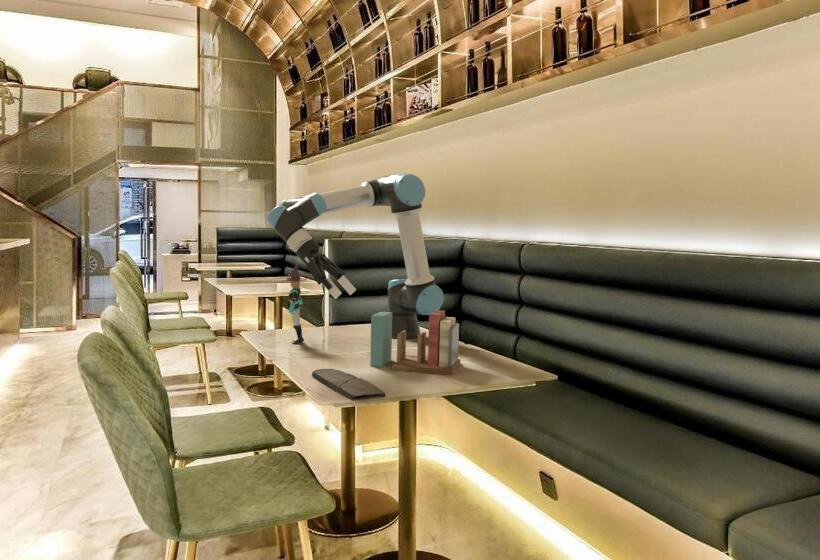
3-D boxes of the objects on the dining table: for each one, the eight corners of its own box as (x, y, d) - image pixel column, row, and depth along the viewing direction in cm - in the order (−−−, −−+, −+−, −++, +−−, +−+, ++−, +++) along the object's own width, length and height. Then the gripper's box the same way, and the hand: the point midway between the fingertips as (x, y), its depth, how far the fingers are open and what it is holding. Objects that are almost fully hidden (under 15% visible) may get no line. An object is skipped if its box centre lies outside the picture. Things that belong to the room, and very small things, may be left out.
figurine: (286, 338, 238) (286, 260, 235) (309, 338, 238) (310, 261, 235) (276, 348, 218) (277, 263, 215) (302, 348, 218) (303, 264, 215)
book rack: (405, 359, 204) (406, 307, 202) (460, 363, 199) (462, 310, 198) (392, 370, 188) (393, 313, 187) (451, 374, 184) (453, 317, 182)
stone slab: (340, 366, 184) (388, 385, 158) (340, 376, 184) (388, 397, 158) (308, 370, 179) (351, 390, 153) (308, 380, 179) (352, 403, 153)
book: (379, 359, 203) (380, 311, 201) (391, 360, 202) (392, 312, 200) (370, 366, 193) (371, 315, 192) (382, 367, 192) (383, 316, 191)
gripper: (311, 252, 213) (351, 298, 211) (279, 254, 189) (323, 305, 187) (326, 238, 212) (366, 283, 209) (295, 238, 187) (340, 289, 185)
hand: (346, 294), depth 198 cm, fingers open, 13 cm apart
